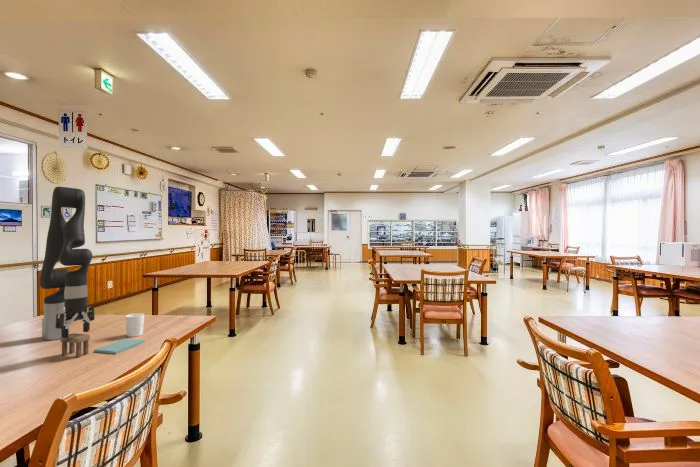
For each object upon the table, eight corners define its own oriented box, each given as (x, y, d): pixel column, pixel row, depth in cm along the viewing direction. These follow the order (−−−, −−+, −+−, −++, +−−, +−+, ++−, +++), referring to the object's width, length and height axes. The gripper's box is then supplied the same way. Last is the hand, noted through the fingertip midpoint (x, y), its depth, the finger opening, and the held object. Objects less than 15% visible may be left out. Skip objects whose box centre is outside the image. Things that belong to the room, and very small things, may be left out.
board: (94, 351, 141) (94, 349, 141) (124, 340, 156) (124, 338, 156) (115, 354, 139) (115, 351, 139) (144, 342, 154) (144, 340, 154)
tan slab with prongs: (60, 356, 136) (60, 336, 136) (72, 351, 141) (72, 333, 141) (78, 357, 135) (78, 338, 135) (89, 353, 140) (90, 334, 139)
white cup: (135, 337, 160) (135, 317, 160) (121, 336, 162) (121, 316, 162) (147, 333, 168) (148, 313, 168) (134, 331, 170) (135, 312, 170)
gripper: (85, 292, 146) (85, 329, 146) (50, 299, 132) (50, 339, 132) (99, 293, 144) (99, 330, 144) (65, 299, 130) (65, 340, 130)
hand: (76, 334), depth 138 cm, fingers open, 8 cm apart
